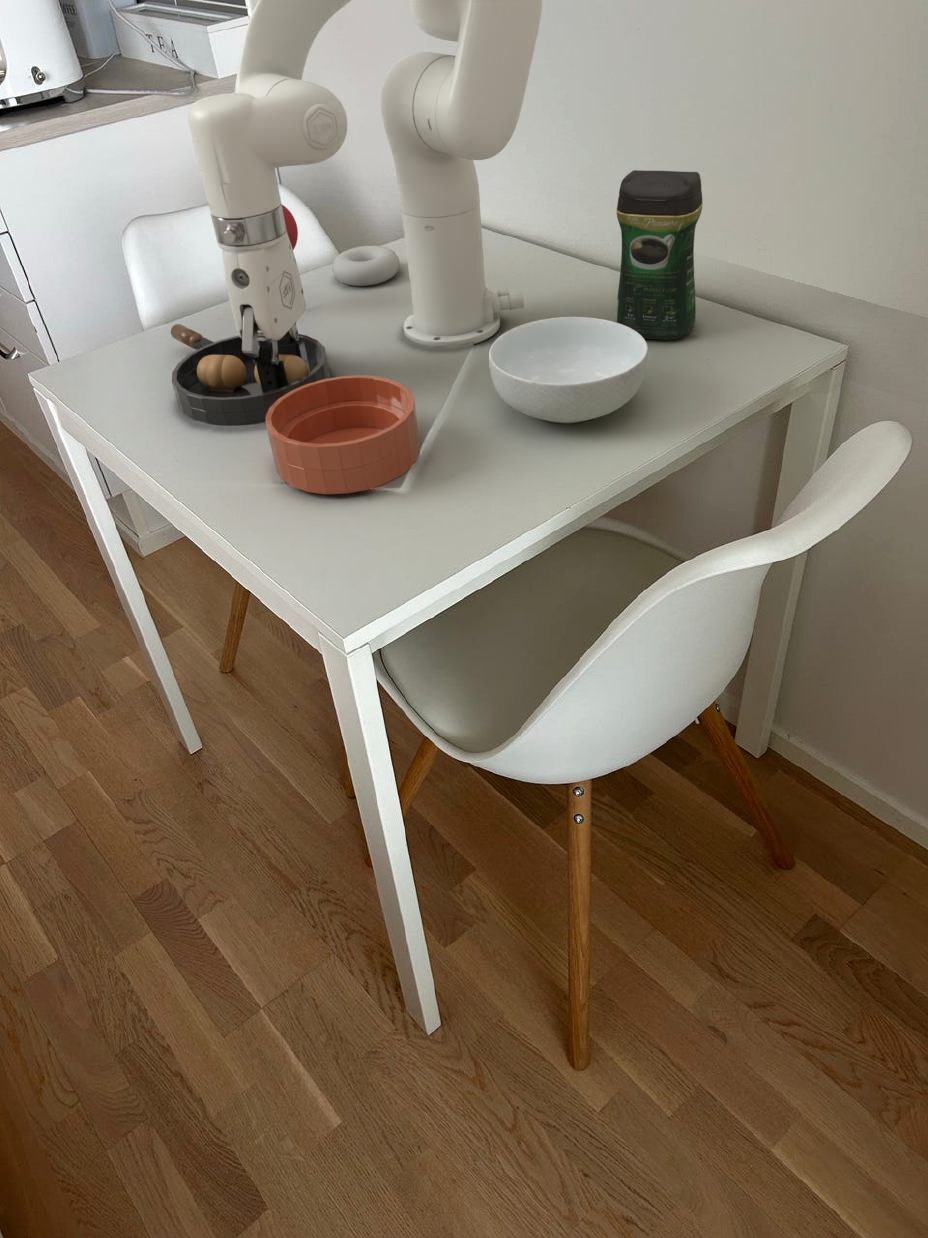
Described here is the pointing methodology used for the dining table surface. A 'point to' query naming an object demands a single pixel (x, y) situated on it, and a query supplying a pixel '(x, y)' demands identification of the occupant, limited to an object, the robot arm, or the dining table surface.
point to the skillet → (248, 398)
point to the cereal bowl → (568, 367)
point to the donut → (365, 265)
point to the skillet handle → (189, 337)
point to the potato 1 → (221, 372)
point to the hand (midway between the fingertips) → (283, 382)
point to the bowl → (344, 434)
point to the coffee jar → (658, 252)
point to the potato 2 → (290, 368)
